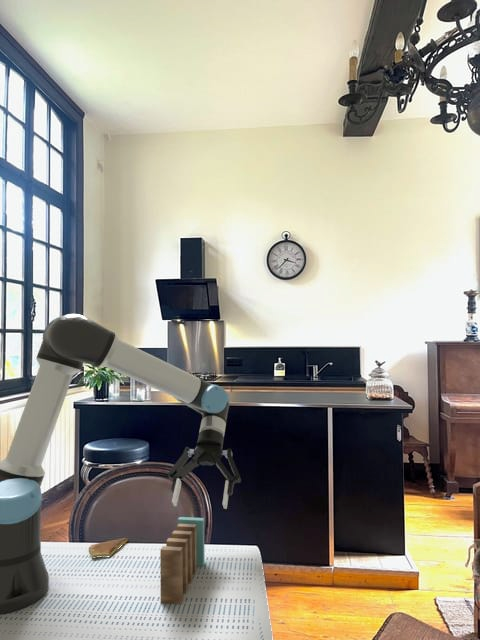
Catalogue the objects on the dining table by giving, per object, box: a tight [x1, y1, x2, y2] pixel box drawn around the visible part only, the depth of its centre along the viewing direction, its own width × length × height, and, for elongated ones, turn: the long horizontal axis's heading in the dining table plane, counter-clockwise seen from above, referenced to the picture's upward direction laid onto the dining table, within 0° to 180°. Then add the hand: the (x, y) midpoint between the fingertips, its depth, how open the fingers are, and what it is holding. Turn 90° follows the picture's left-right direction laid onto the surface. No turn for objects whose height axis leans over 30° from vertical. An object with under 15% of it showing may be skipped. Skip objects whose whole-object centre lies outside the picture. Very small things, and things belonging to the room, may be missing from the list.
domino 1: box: [177, 516, 205, 567], centre depth 110 cm, size 6×2×11 cm, turn 81°
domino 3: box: [171, 530, 193, 585], centre depth 102 cm, size 4×2×11 cm, turn 81°
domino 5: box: [159, 545, 184, 605], centre depth 94 cm, size 4×2×11 cm, turn 81°
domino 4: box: [165, 537, 189, 595], centre depth 98 cm, size 4×2×11 cm, turn 81°
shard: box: [88, 536, 130, 559], centre depth 118 cm, size 11×8×2 cm
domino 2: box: [176, 523, 198, 576], centre depth 106 cm, size 4×2×11 cm, turn 81°
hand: (199, 505), depth 116 cm, fingers open, 13 cm apart
